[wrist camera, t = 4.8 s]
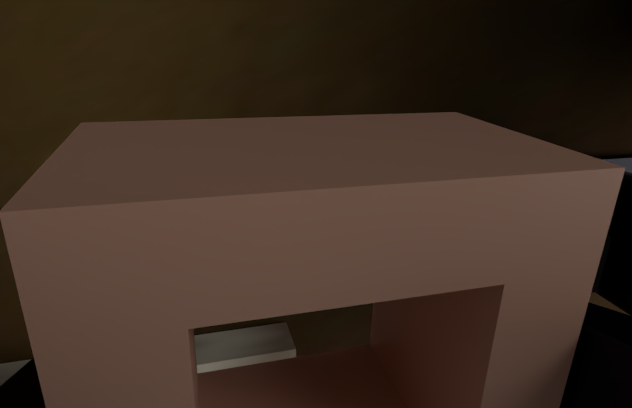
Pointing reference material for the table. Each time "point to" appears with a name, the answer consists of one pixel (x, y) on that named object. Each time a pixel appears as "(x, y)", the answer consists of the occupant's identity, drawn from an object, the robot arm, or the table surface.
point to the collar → (309, 259)
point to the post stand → (222, 349)
